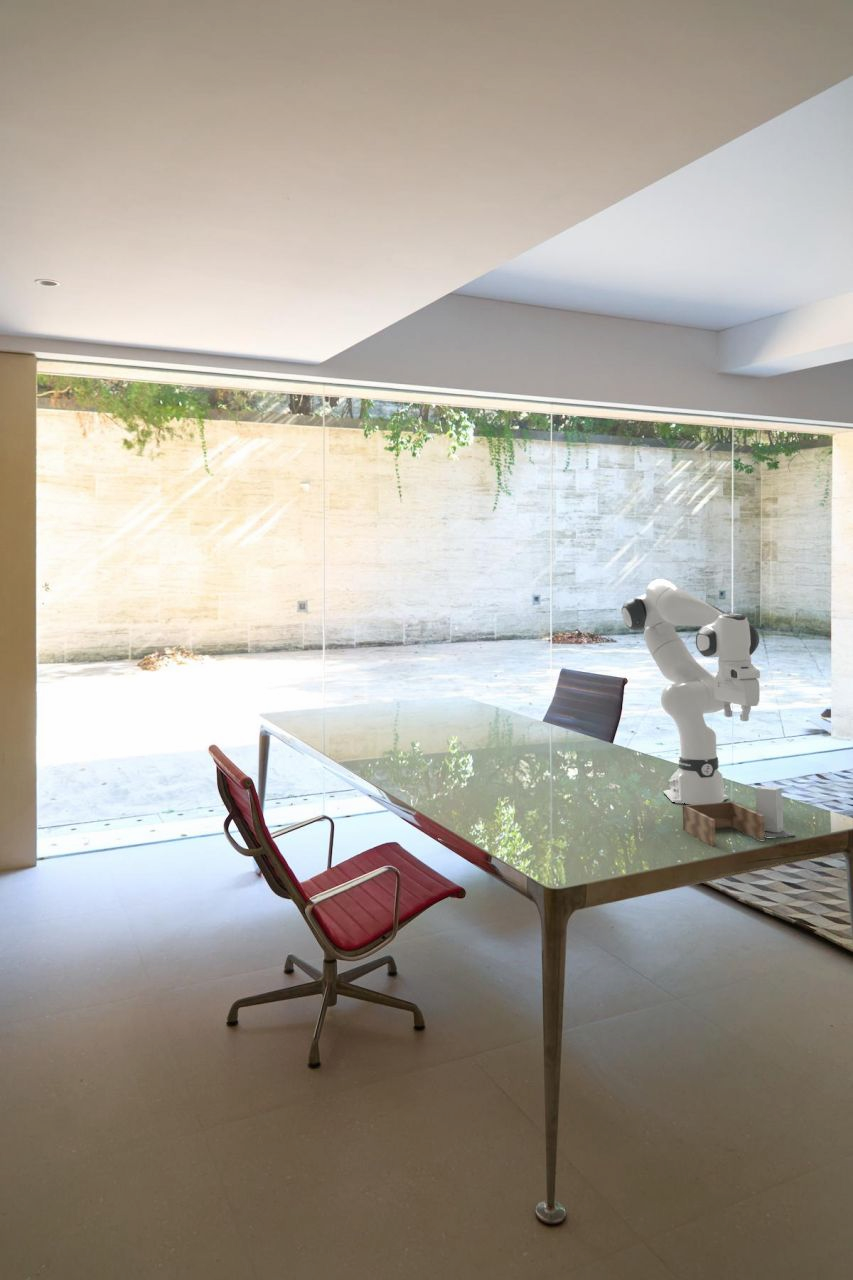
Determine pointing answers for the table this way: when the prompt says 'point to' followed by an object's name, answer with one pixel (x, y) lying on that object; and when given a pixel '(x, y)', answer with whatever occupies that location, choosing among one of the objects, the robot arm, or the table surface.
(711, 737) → the robot arm
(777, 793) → the skincare box
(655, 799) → the table surface
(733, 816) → the walnut u-shaped frame
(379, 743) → the table surface
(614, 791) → the table surface
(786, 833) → the charcoal mat
